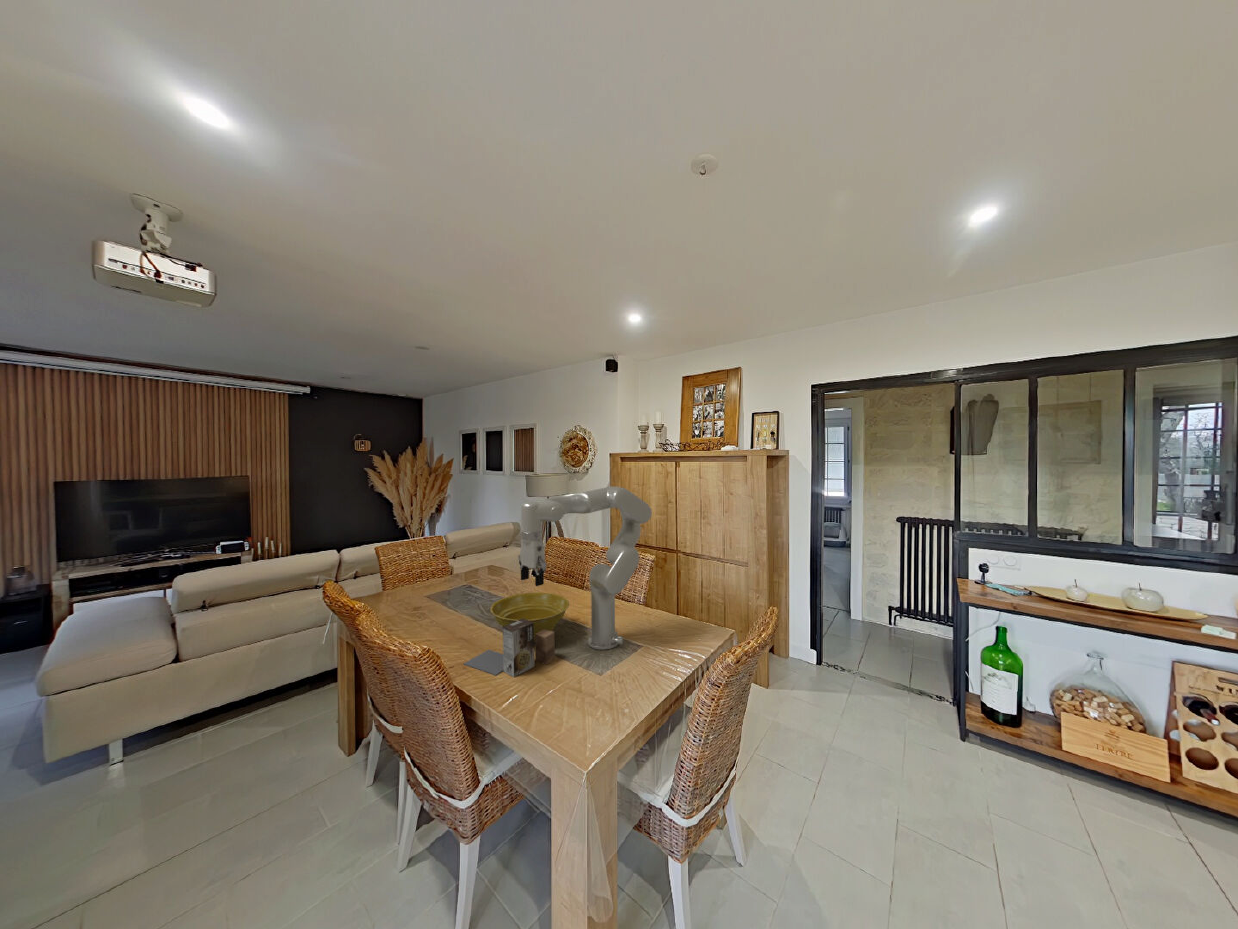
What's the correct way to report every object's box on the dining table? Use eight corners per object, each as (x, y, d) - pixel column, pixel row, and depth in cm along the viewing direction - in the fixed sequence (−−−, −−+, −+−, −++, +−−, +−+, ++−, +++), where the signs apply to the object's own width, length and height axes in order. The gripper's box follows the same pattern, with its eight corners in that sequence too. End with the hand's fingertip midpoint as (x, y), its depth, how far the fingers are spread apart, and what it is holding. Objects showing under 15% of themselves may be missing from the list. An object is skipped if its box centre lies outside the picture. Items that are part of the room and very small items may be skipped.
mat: (520, 660, 149) (520, 659, 149) (495, 675, 138) (495, 674, 138) (488, 650, 156) (488, 649, 156) (463, 664, 146) (463, 663, 146)
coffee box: (523, 661, 148) (523, 617, 148) (535, 667, 144) (534, 622, 144) (502, 671, 141) (502, 625, 141) (513, 677, 137) (513, 630, 137)
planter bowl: (576, 622, 183) (576, 592, 183) (558, 656, 151) (558, 621, 151) (508, 619, 187) (507, 590, 186) (476, 653, 155) (476, 618, 154)
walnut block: (554, 658, 150) (554, 632, 150) (546, 664, 146) (545, 637, 145) (544, 655, 152) (543, 629, 152) (535, 661, 148) (535, 634, 148)
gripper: (554, 537, 145) (554, 585, 145) (527, 531, 157) (528, 575, 157) (536, 540, 139) (536, 590, 139) (510, 534, 152) (510, 579, 152)
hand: (532, 582), depth 148 cm, fingers open, 9 cm apart
